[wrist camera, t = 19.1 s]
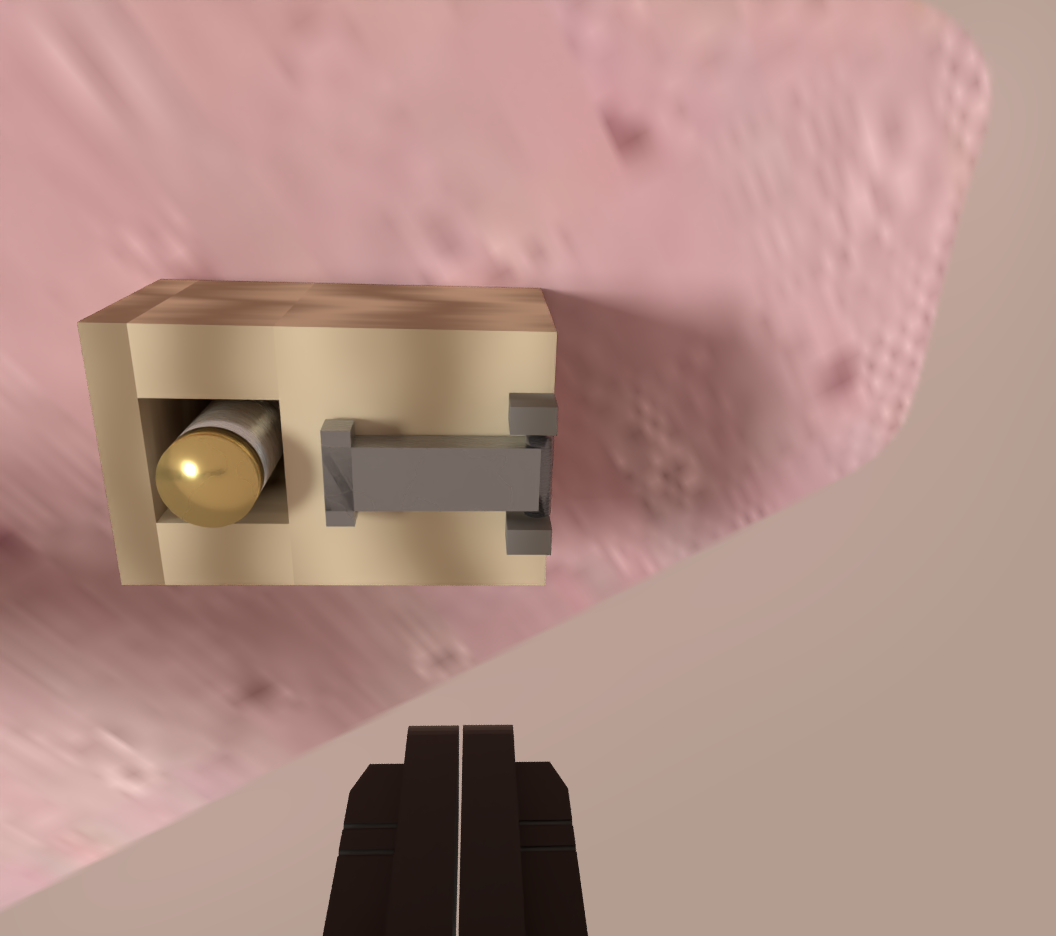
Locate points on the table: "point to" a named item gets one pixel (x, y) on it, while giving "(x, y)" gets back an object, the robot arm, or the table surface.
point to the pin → (221, 461)
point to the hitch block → (318, 422)
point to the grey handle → (432, 473)
